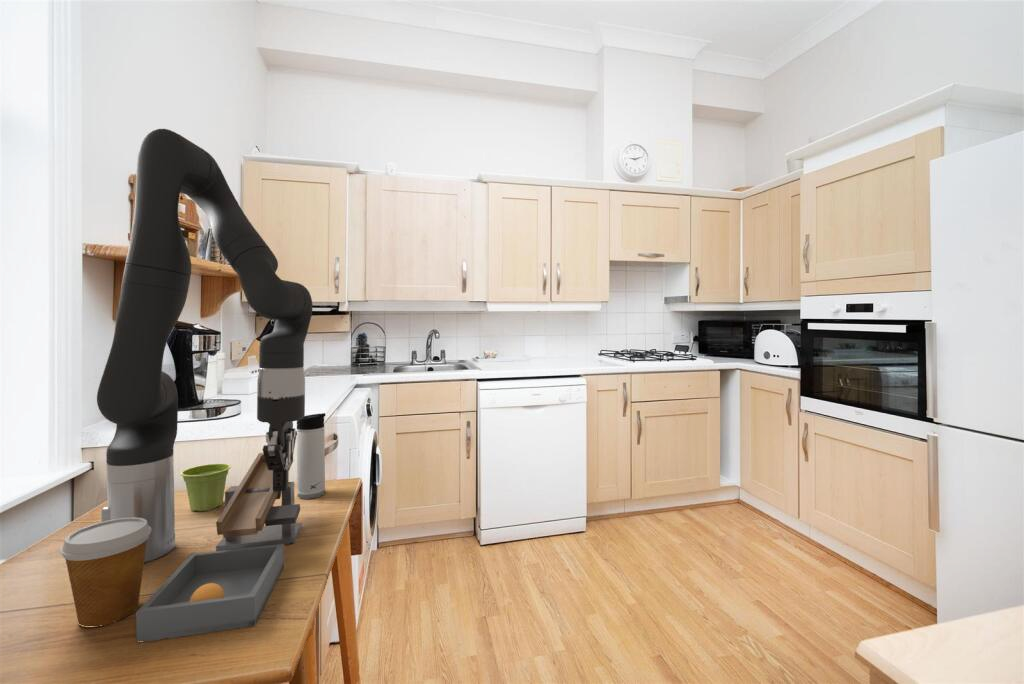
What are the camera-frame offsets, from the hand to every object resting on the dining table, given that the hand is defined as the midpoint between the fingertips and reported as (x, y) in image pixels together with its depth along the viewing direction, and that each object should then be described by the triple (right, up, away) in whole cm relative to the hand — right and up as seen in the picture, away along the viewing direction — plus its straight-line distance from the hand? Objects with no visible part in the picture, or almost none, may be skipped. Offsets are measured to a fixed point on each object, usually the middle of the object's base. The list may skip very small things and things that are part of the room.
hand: (280, 489), depth 79 cm
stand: (-7, -12, +7) cm, 15 cm away
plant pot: (-29, -12, +23) cm, 39 cm away
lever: (-5, -5, +8) cm, 11 cm away
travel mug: (-8, -12, +30) cm, 33 cm away
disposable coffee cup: (-16, -12, -16) cm, 26 cm away
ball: (-1, -9, -17) cm, 20 cm away
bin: (-2, -12, -13) cm, 18 cm away
